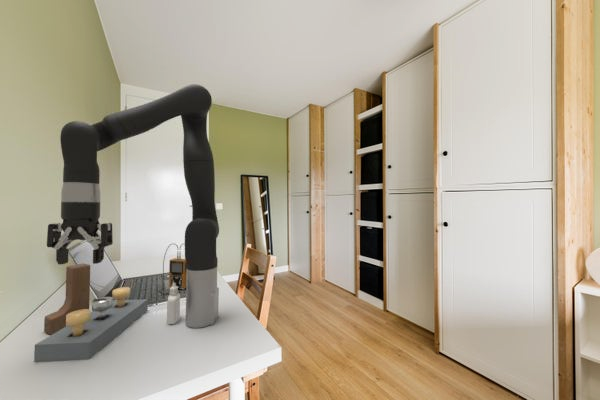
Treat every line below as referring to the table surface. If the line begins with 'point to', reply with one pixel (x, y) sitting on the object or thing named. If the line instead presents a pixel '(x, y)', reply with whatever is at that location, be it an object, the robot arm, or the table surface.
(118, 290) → the knob right
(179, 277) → the multimeter
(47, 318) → the wooden block
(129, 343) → the table surface
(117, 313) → the panel
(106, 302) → the dial middle
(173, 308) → the eye dropper bottle
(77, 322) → the knob left
